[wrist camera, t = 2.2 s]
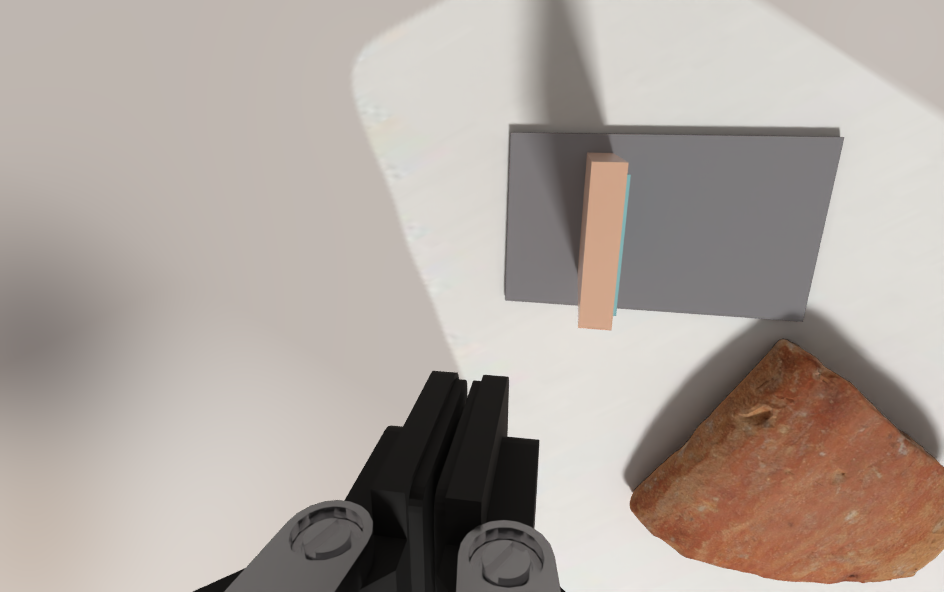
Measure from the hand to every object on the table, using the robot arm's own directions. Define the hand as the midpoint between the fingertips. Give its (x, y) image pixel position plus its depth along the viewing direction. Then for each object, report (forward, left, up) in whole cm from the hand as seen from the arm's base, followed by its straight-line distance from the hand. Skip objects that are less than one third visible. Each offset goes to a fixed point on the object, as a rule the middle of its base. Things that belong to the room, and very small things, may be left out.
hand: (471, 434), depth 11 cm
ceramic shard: (-17, +15, -22) cm, 31 cm away
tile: (-3, -2, -21) cm, 21 cm away
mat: (-7, -1, -21) cm, 22 cm away
